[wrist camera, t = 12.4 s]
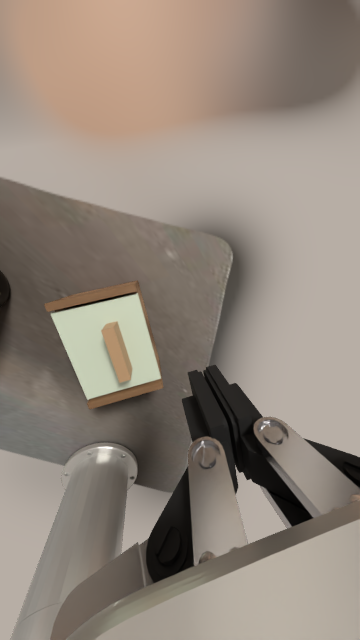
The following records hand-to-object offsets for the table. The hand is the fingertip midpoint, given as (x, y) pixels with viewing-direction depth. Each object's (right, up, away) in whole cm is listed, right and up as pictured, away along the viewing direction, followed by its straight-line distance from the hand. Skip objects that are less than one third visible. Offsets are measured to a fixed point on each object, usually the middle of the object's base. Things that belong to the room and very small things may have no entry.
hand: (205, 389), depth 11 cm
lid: (-9, +1, +11) cm, 14 cm away
